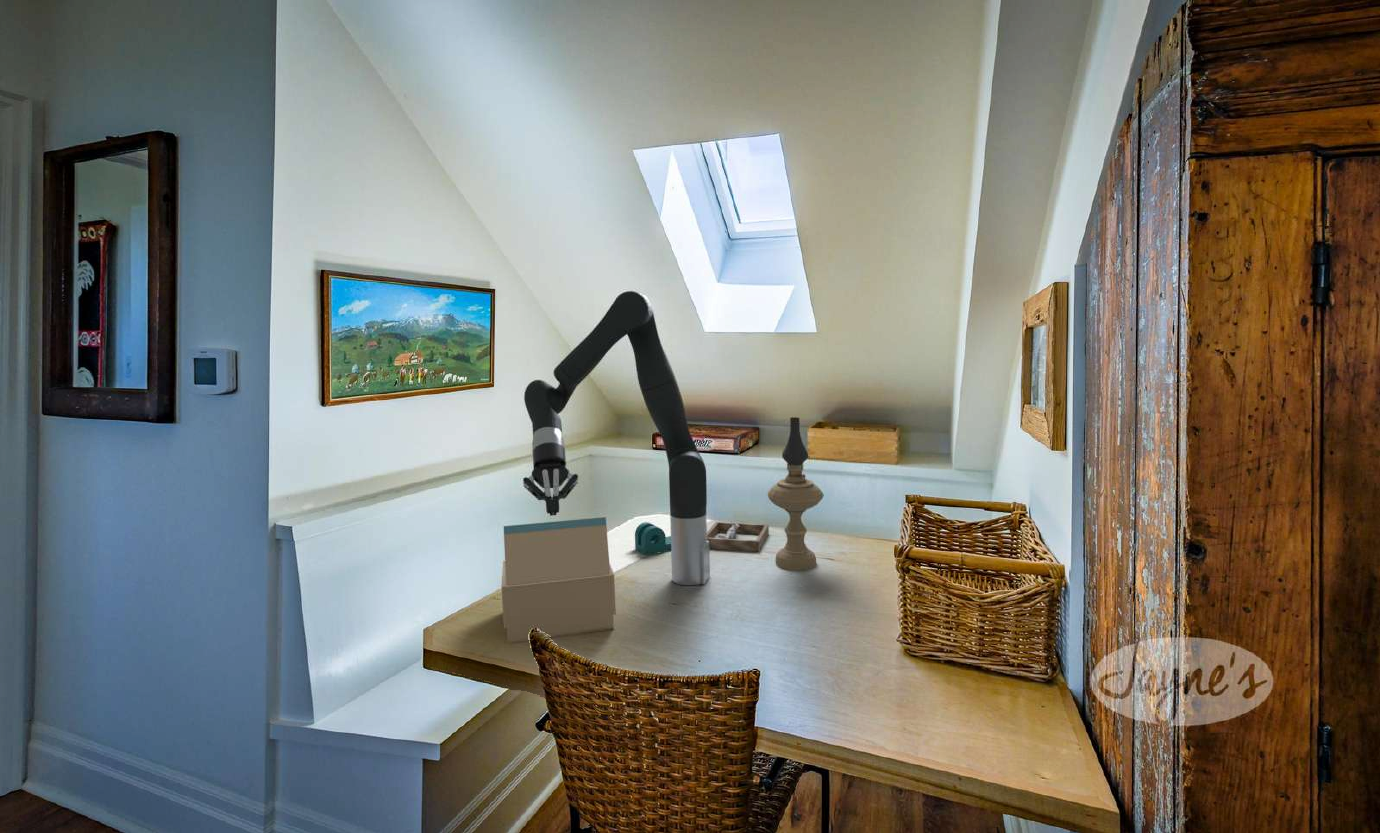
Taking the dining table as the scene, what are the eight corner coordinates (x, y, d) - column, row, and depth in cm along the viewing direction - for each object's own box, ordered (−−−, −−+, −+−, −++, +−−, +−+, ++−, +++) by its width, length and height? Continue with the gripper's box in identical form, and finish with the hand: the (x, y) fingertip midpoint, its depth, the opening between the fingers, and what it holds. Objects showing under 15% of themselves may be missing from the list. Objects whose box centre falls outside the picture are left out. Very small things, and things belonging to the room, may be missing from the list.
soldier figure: (710, 547, 202) (718, 525, 212) (723, 557, 202) (730, 534, 213) (726, 532, 198) (733, 510, 209) (739, 542, 198) (745, 520, 209)
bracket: (645, 556, 192) (644, 529, 191) (635, 549, 198) (634, 524, 197) (699, 545, 201) (698, 520, 200) (688, 539, 207) (687, 515, 206)
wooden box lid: (503, 526, 139) (503, 526, 138) (605, 517, 144) (605, 517, 143) (506, 585, 136) (506, 585, 136) (609, 574, 141) (610, 574, 141)
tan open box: (506, 609, 156) (503, 559, 154) (605, 597, 161) (603, 549, 160) (504, 643, 138) (501, 587, 136) (616, 629, 143) (614, 575, 142)
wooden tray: (768, 533, 210) (768, 524, 210) (759, 551, 193) (758, 541, 193) (716, 530, 215) (716, 521, 215) (702, 547, 198) (701, 538, 197)
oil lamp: (789, 576, 172) (788, 422, 168) (757, 560, 186) (755, 417, 181) (835, 566, 179) (835, 418, 175) (801, 551, 192) (800, 413, 188)
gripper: (519, 442, 154) (521, 507, 144) (577, 439, 157) (583, 502, 147) (520, 461, 160) (523, 524, 150) (576, 458, 163) (582, 519, 153)
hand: (553, 513), depth 148 cm, fingers closed
